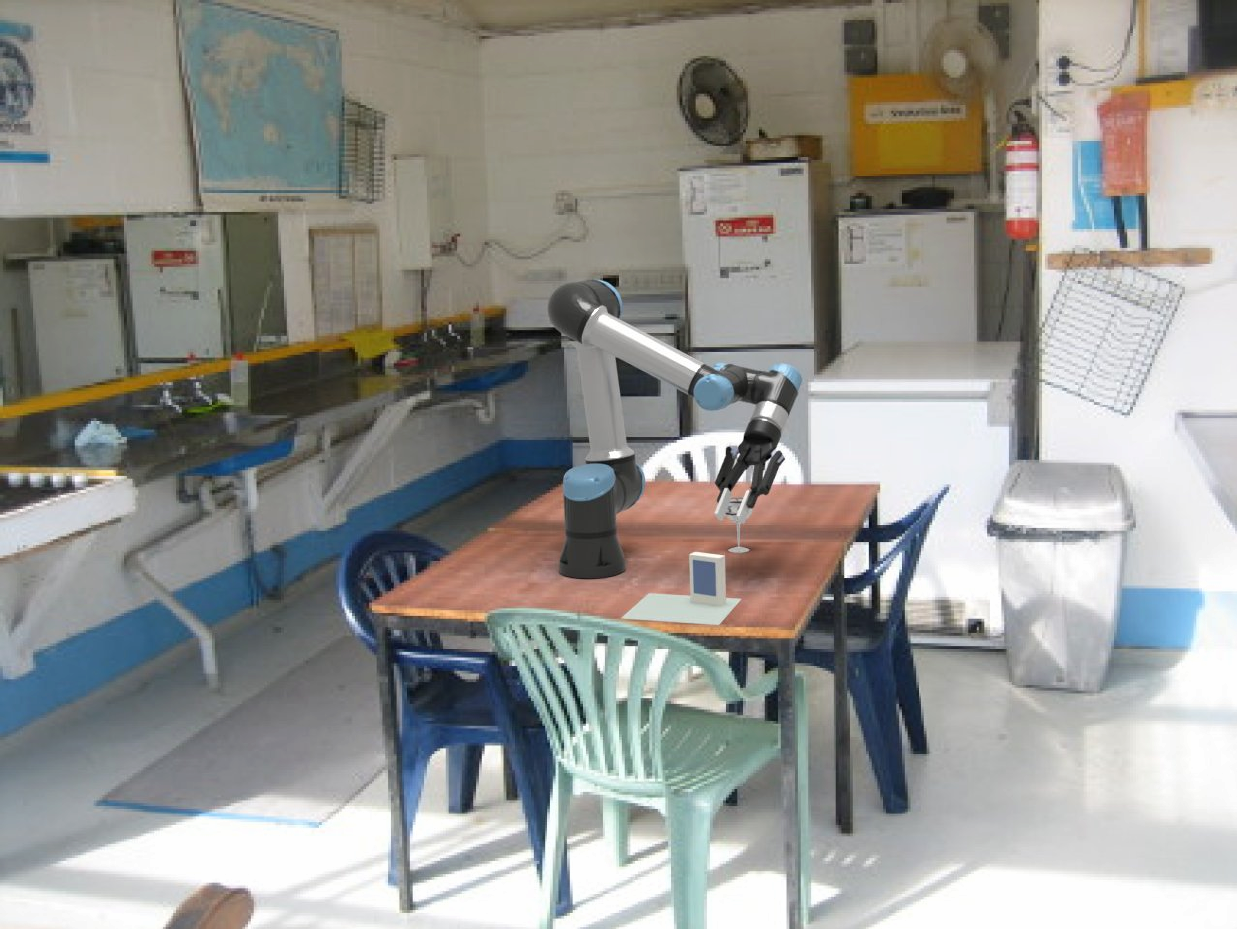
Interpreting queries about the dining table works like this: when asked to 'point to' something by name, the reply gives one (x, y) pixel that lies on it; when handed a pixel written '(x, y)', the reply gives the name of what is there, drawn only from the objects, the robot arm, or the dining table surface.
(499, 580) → the dining table surface
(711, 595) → the box
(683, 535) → the dining table surface
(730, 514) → the wineglass
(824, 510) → the dining table surface
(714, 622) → the mat
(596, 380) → the robot arm
